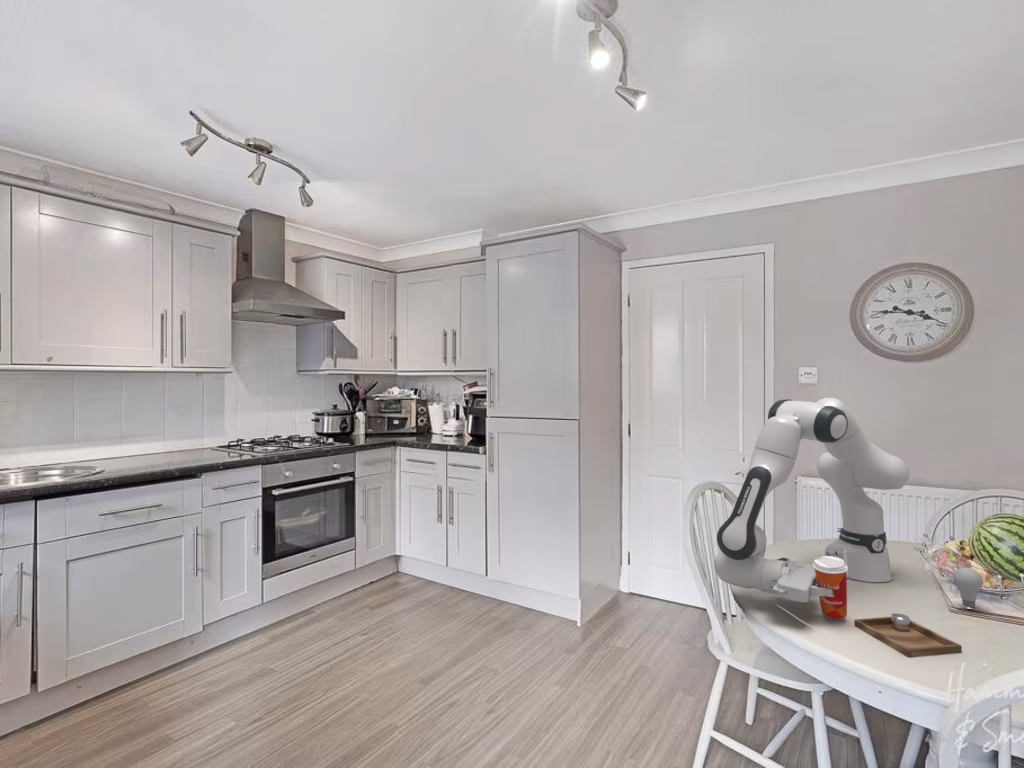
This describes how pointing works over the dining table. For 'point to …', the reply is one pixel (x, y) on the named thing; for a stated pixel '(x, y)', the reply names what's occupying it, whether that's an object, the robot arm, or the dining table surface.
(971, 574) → the lightbulb
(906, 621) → the part
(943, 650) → the tray
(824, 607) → the paper cup
